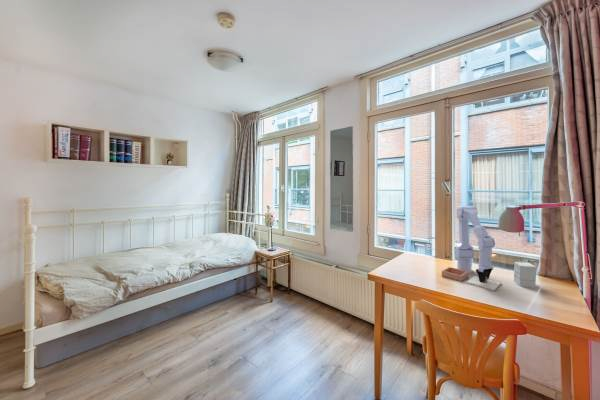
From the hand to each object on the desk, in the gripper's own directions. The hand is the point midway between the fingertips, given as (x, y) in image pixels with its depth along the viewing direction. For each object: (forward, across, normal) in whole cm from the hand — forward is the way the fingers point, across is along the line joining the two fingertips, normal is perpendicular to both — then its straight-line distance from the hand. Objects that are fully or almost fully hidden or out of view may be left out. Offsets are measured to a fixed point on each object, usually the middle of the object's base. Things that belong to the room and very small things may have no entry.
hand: (484, 280), depth 145 cm
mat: (+2, 0, 0) cm, 2 cm away
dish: (+2, -1, +15) cm, 15 cm away
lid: (+2, 0, 0) cm, 2 cm away
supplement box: (+3, +16, -15) cm, 22 cm away
